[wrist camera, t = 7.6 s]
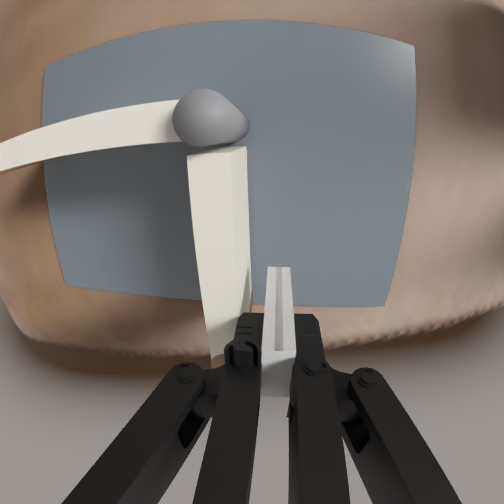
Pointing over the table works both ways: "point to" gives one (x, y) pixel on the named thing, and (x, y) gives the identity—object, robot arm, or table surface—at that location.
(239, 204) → the cream upright panel
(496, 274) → the table surface
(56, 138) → the fixed fence section
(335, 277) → the card
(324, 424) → the robot arm
